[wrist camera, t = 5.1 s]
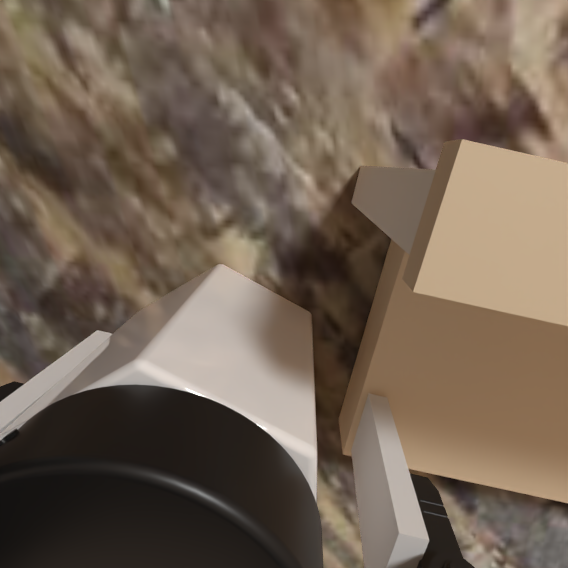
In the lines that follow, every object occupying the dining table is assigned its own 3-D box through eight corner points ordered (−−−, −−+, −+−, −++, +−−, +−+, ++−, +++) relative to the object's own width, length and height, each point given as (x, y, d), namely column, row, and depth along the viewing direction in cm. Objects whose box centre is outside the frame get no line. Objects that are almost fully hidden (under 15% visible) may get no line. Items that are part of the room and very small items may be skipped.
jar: (128, 262, 18) (-178, 434, 7) (315, 262, 18) (331, 446, 6) (149, 437, 21) (-47, 781, 9) (313, 441, 20) (323, 807, 9)
